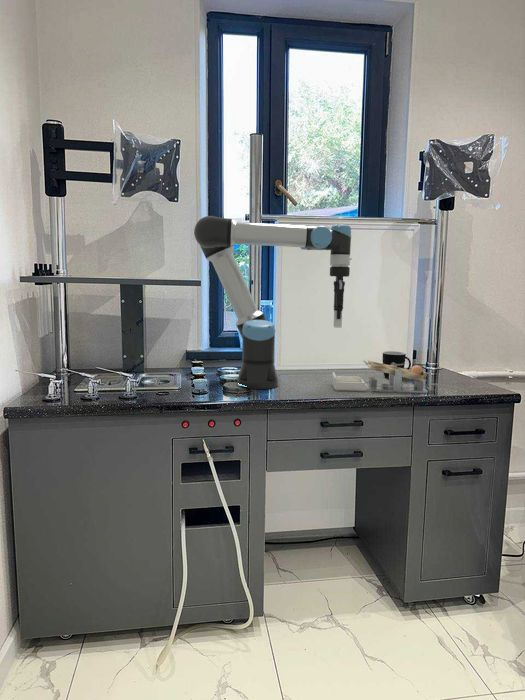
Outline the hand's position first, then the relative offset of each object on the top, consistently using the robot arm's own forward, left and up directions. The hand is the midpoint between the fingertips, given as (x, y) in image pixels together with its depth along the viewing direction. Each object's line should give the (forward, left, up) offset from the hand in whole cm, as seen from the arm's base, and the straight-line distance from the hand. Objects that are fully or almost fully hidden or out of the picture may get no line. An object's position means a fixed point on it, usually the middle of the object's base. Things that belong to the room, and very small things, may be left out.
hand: (337, 326), depth 199 cm
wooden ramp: (+20, -12, -16) cm, 28 cm away
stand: (+20, -16, -21) cm, 33 cm away
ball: (+28, -16, -14) cm, 35 cm away
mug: (+25, +5, -21) cm, 33 cm away
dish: (+3, -16, -21) cm, 26 cm away
